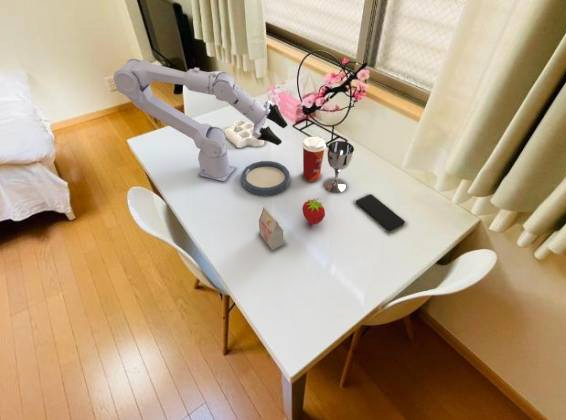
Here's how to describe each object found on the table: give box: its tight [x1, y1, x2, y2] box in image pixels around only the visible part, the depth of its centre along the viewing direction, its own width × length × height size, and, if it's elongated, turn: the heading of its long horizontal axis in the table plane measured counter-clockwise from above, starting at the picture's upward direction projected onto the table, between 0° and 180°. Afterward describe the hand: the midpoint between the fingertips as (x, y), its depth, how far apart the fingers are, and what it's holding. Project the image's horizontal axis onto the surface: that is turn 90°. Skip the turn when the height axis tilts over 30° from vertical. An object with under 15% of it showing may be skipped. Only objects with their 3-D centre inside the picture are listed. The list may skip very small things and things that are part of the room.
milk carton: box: [258, 206, 284, 251], centre depth 82 cm, size 4×7×10 cm, turn 33°
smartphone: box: [355, 194, 406, 232], centre depth 94 cm, size 7×1×15 cm
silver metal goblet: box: [324, 140, 355, 194], centre depth 98 cm, size 8×8×15 cm
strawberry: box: [301, 198, 326, 226], centre depth 87 cm, size 6×8×10 cm
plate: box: [241, 160, 290, 197], centre depth 104 cm, size 16×16×3 cm
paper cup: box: [301, 136, 327, 182], centre depth 102 cm, size 8×8×14 cm
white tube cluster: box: [223, 119, 265, 149], centre depth 124 cm, size 3×18×15 cm
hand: (282, 134), depth 97 cm, fingers open, 7 cm apart
